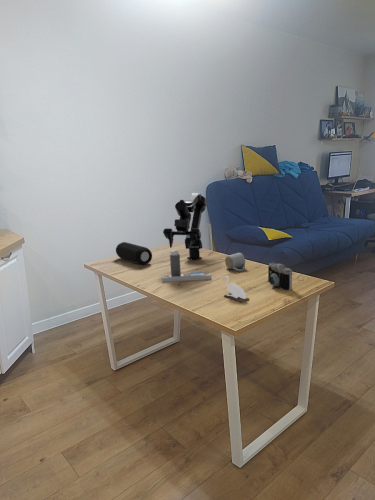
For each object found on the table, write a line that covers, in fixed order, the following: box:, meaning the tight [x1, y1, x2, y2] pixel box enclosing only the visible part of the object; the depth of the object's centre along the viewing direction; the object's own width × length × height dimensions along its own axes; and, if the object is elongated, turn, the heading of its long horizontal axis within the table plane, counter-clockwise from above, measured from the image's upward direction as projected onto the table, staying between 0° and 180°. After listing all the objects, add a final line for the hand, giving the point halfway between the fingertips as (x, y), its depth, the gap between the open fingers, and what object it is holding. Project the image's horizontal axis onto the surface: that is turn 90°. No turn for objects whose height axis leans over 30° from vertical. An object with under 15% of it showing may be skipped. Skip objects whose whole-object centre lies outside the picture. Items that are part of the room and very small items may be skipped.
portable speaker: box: [115, 241, 153, 266], centre depth 206 cm, size 26×10×10 cm, turn 42°
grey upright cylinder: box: [169, 249, 182, 277], centre depth 172 cm, size 5×5×13 cm
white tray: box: [161, 271, 212, 283], centre depth 174 cm, size 23×12×2 cm, turn 91°
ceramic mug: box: [224, 252, 246, 272], centre depth 182 cm, size 11×8×8 cm
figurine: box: [220, 275, 250, 304], centre depth 146 cm, size 14×4×9 cm, turn 41°
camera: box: [267, 262, 293, 291], centre depth 156 cm, size 15×7×10 cm, turn 21°
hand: (179, 247), depth 178 cm, fingers open, 9 cm apart
